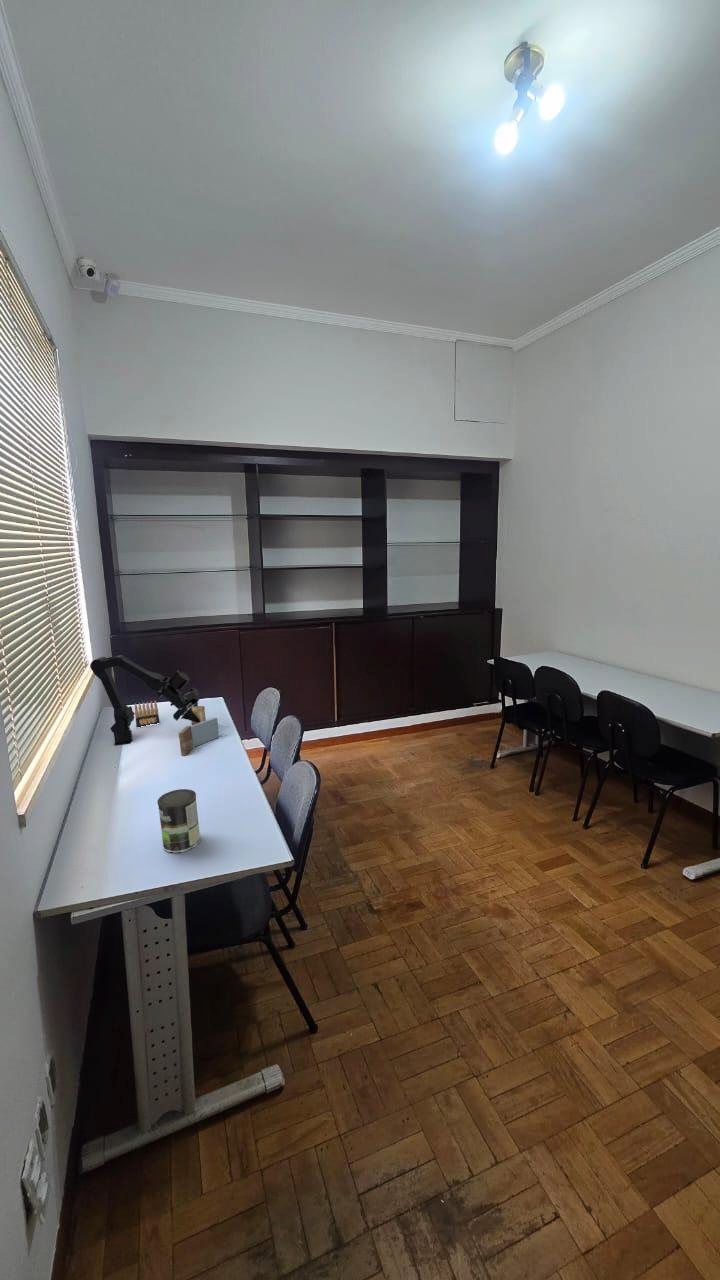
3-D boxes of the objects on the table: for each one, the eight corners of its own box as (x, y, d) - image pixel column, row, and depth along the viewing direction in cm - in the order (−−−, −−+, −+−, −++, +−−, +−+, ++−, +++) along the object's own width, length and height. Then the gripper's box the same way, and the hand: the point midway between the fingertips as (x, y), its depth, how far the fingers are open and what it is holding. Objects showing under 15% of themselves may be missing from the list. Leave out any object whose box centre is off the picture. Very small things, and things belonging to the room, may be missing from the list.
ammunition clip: (136, 728, 248) (133, 704, 245) (136, 726, 249) (133, 703, 247) (160, 724, 252) (157, 700, 249) (159, 723, 253) (157, 699, 251)
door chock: (192, 736, 227) (190, 709, 225) (196, 732, 231) (193, 706, 229) (203, 735, 227) (201, 708, 225) (207, 732, 231) (204, 706, 229)
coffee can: (172, 858, 140) (167, 810, 137) (157, 843, 147) (151, 798, 144) (207, 842, 147) (202, 796, 144) (190, 829, 154) (185, 785, 151)
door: (192, 746, 220) (190, 726, 218) (217, 736, 230) (215, 717, 228) (193, 746, 219) (191, 726, 217) (219, 737, 229) (217, 717, 227)
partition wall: (181, 756, 210) (178, 732, 208) (188, 748, 218) (186, 726, 216) (186, 755, 210) (183, 732, 208) (193, 748, 218) (190, 725, 216)
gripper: (177, 690, 216) (205, 714, 217) (193, 678, 234) (219, 701, 236) (161, 708, 218) (189, 732, 219) (178, 695, 236) (204, 718, 238)
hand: (201, 720), depth 228 cm, fingers closed on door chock, 4 cm apart
